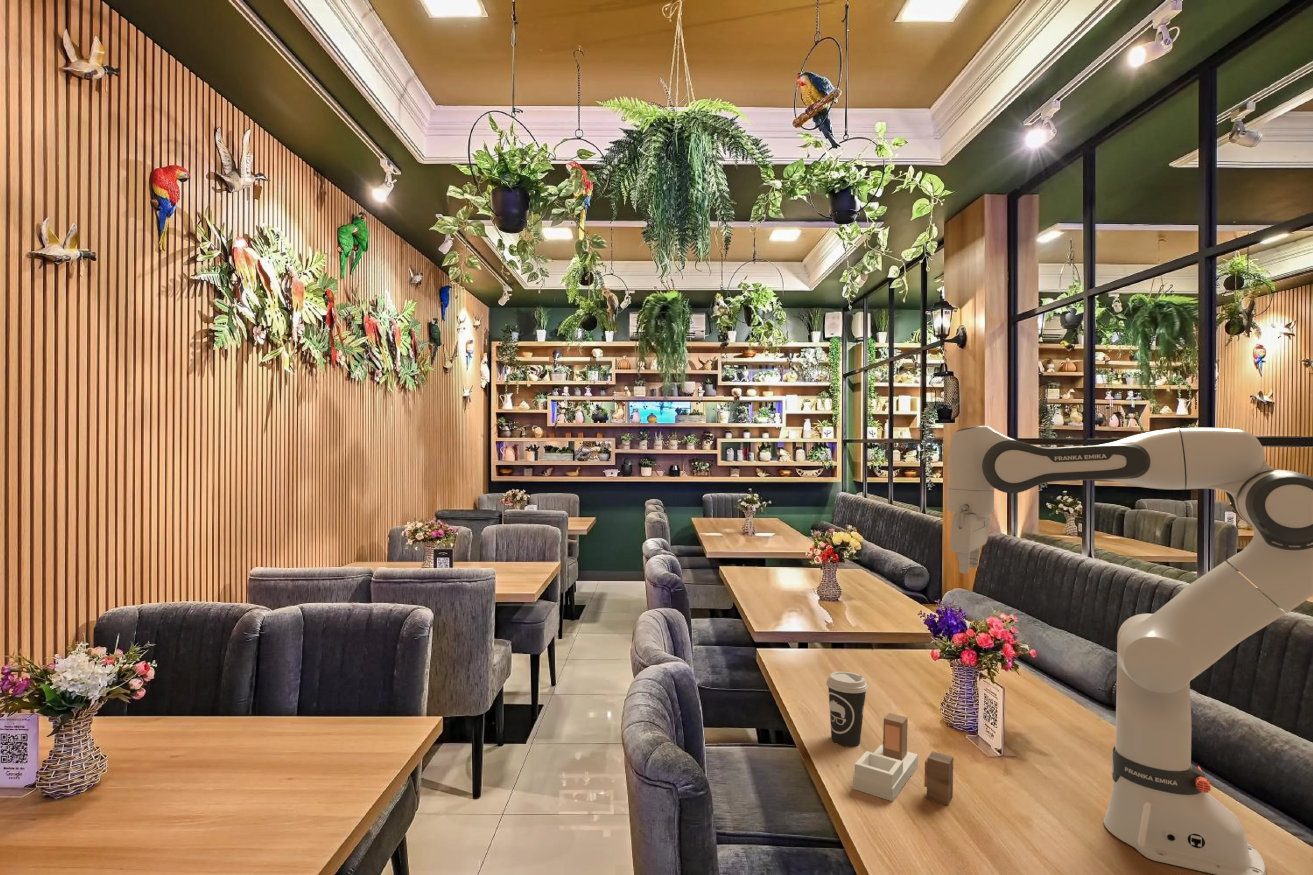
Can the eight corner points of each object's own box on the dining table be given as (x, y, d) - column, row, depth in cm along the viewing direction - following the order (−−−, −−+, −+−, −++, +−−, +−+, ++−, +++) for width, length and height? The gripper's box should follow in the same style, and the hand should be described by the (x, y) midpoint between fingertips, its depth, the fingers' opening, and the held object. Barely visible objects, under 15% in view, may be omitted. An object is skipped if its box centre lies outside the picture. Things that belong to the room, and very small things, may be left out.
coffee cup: (868, 751, 153) (870, 685, 153) (825, 746, 154) (827, 681, 155) (864, 734, 162) (866, 672, 162) (823, 730, 164) (825, 668, 164)
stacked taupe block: (928, 789, 136) (929, 749, 136) (952, 796, 133) (953, 756, 134) (923, 797, 133) (924, 756, 133) (948, 805, 130) (949, 763, 130)
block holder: (917, 765, 146) (918, 717, 147) (892, 801, 131) (894, 747, 131) (880, 755, 151) (881, 708, 151) (852, 788, 135) (853, 736, 136)
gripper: (977, 507, 129) (976, 578, 129) (995, 502, 146) (993, 565, 146) (942, 504, 133) (941, 574, 133) (963, 500, 150) (962, 562, 149)
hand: (968, 569), depth 139 cm, fingers open, 8 cm apart
